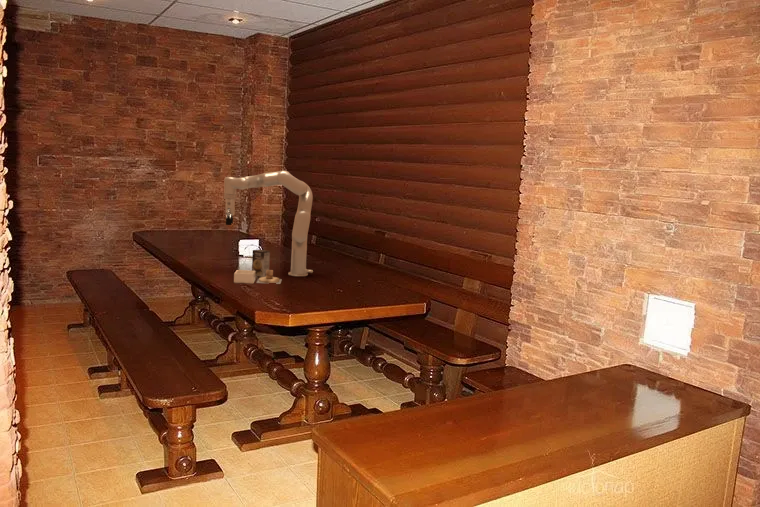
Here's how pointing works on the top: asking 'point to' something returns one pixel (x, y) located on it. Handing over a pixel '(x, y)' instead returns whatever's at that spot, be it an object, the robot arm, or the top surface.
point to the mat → (276, 283)
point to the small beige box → (244, 276)
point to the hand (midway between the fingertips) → (229, 224)
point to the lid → (269, 277)
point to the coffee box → (260, 262)
